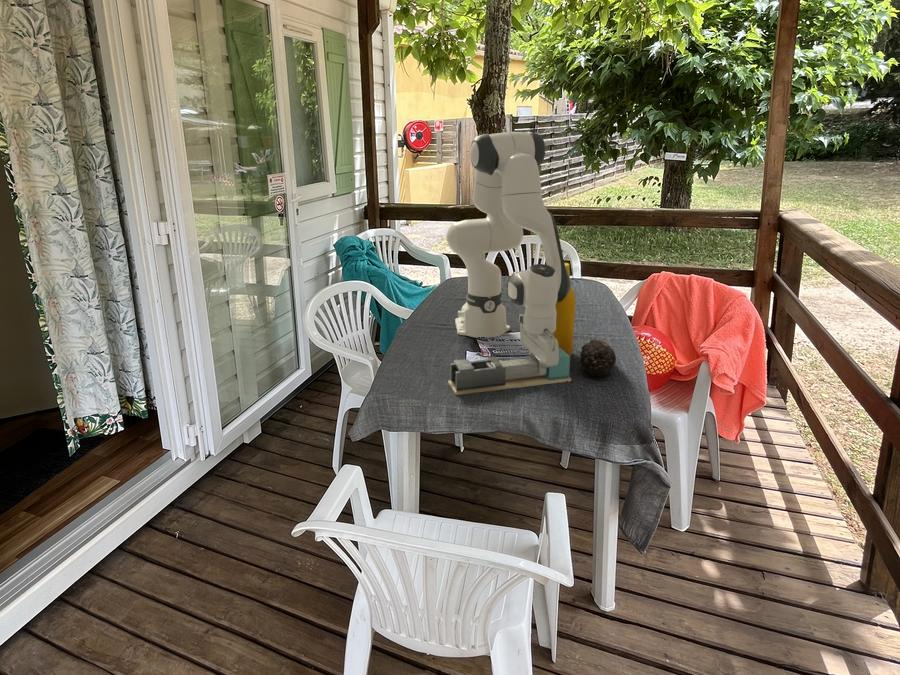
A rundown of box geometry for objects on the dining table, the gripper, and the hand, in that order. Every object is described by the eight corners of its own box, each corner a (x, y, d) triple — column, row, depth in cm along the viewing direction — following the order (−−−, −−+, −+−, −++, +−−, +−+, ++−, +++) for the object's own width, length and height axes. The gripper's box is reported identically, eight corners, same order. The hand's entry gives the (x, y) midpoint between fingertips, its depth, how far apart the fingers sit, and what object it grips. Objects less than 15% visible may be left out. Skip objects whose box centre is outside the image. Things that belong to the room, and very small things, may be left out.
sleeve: (450, 381, 178) (450, 360, 176) (497, 375, 181) (497, 355, 179) (456, 391, 172) (456, 370, 170) (505, 385, 175) (505, 364, 173)
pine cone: (607, 358, 195) (610, 328, 191) (617, 382, 178) (620, 349, 175) (573, 358, 196) (575, 327, 192) (580, 382, 179) (582, 349, 175)
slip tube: (485, 375, 179) (485, 362, 177) (551, 368, 183) (551, 355, 182) (490, 381, 175) (490, 368, 174) (557, 373, 180) (557, 360, 178)
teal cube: (539, 373, 185) (540, 349, 182) (558, 371, 186) (559, 347, 183) (549, 382, 178) (550, 358, 176) (568, 380, 180) (570, 356, 177)
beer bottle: (545, 360, 194) (549, 268, 184) (540, 349, 203) (544, 260, 193) (575, 359, 194) (581, 267, 184) (569, 348, 203) (574, 260, 193)
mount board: (448, 383, 179) (448, 380, 179) (559, 370, 187) (559, 367, 186) (455, 394, 172) (455, 392, 171) (571, 381, 179) (571, 378, 179)
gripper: (566, 335, 166) (563, 382, 171) (537, 311, 185) (535, 355, 190) (543, 337, 165) (541, 385, 170) (516, 313, 184) (515, 357, 188)
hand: (538, 369), depth 180 cm, fingers closed on slip tube, 4 cm apart
